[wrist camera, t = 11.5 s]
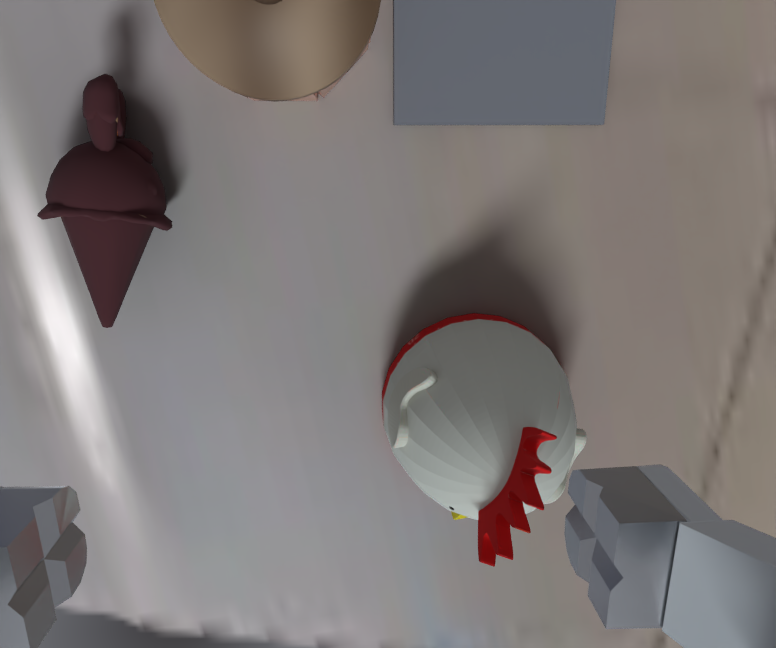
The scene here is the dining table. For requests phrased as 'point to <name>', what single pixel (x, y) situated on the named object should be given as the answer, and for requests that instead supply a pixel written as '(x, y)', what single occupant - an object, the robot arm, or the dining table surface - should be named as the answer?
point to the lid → (271, 42)
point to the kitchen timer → (482, 423)
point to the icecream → (107, 199)
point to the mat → (501, 61)
